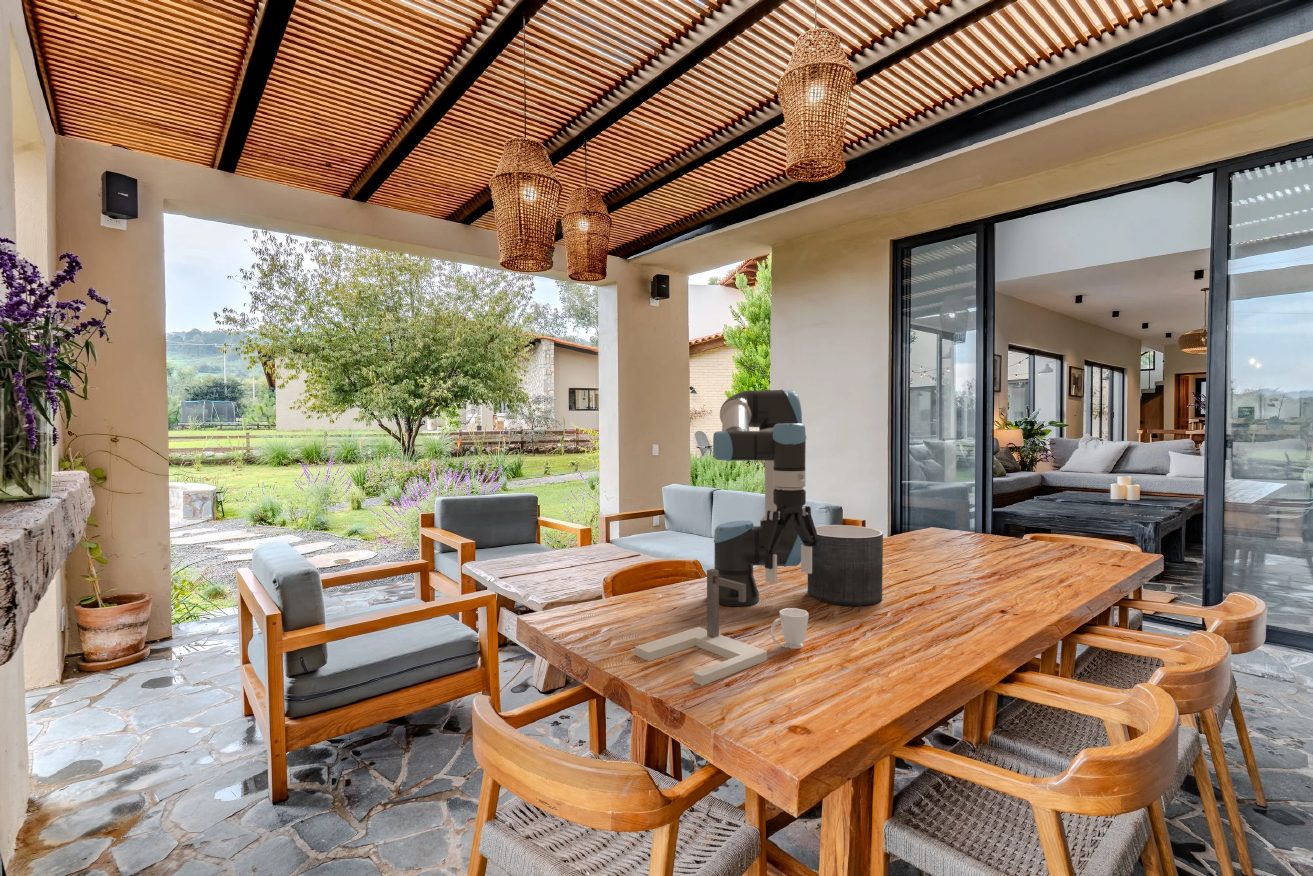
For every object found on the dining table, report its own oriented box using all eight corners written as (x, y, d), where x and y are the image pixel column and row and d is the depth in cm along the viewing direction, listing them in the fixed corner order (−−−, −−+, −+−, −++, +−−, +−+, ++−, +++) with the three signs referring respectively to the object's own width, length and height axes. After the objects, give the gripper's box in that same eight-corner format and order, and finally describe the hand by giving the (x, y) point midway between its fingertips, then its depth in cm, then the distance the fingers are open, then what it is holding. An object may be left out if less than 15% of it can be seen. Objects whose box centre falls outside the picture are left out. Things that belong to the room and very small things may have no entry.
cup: (815, 648, 146) (815, 614, 146) (780, 655, 142) (780, 620, 141) (796, 638, 152) (796, 606, 152) (762, 645, 148) (762, 611, 148)
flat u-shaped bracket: (635, 655, 142) (635, 646, 142) (698, 634, 155) (698, 626, 155) (702, 686, 125) (702, 676, 125) (767, 660, 139) (767, 651, 139)
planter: (881, 589, 196) (882, 526, 195) (883, 610, 175) (883, 539, 174) (810, 584, 203) (810, 523, 202) (803, 603, 182) (803, 535, 181)
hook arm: (707, 635, 149) (706, 570, 148) (712, 634, 150) (712, 568, 150) (741, 648, 140) (741, 578, 140) (747, 646, 142) (747, 577, 141)
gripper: (768, 493, 135) (768, 589, 135) (833, 485, 151) (833, 571, 152) (742, 491, 141) (742, 583, 141) (807, 483, 157) (807, 566, 157)
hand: (789, 577), depth 146 cm, fingers open, 13 cm apart
